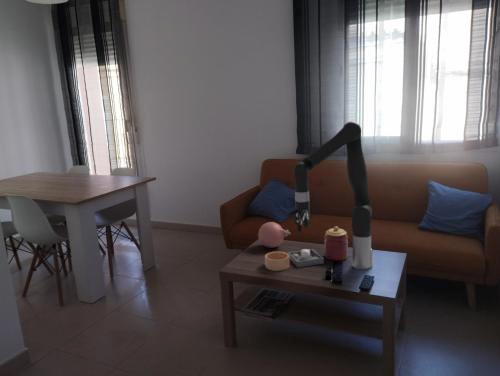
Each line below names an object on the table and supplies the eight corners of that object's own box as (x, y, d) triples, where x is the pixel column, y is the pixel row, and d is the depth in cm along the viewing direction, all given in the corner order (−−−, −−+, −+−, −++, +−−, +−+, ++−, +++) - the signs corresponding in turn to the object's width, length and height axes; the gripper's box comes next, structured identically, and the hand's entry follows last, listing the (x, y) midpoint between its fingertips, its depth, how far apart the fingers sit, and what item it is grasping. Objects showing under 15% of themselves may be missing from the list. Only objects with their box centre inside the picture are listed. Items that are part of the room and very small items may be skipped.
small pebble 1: (297, 256, 231) (297, 253, 231) (299, 258, 228) (299, 255, 228) (291, 257, 230) (291, 254, 230) (293, 259, 227) (293, 256, 227)
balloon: (286, 253, 238) (285, 228, 235) (254, 249, 246) (253, 225, 243) (294, 244, 252) (294, 220, 248) (264, 241, 260) (263, 218, 257)
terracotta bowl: (284, 260, 228) (284, 250, 227) (292, 268, 216) (292, 258, 215) (262, 263, 225) (262, 253, 224) (269, 272, 213) (269, 261, 212)
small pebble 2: (317, 259, 225) (317, 256, 225) (319, 261, 222) (319, 258, 222) (311, 260, 225) (311, 257, 224) (314, 262, 221) (314, 259, 221)
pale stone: (307, 257, 229) (307, 248, 228) (311, 260, 225) (311, 251, 224) (299, 258, 228) (299, 249, 227) (302, 261, 223) (302, 252, 222)
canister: (347, 261, 222) (347, 230, 218) (323, 260, 225) (323, 229, 222) (348, 253, 234) (348, 223, 231) (325, 251, 238) (325, 222, 234)
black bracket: (323, 272, 212) (323, 263, 211) (338, 273, 209) (338, 264, 208) (319, 282, 200) (319, 273, 199) (335, 283, 198) (335, 274, 197)
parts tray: (312, 253, 235) (312, 248, 235) (323, 263, 221) (323, 258, 221) (288, 257, 232) (287, 252, 231) (297, 267, 218) (297, 262, 217)
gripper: (301, 196, 225) (302, 224, 228) (289, 202, 213) (290, 232, 216) (314, 197, 221) (314, 226, 224) (303, 203, 209) (303, 233, 212)
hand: (303, 229), depth 220 cm, fingers open, 8 cm apart
